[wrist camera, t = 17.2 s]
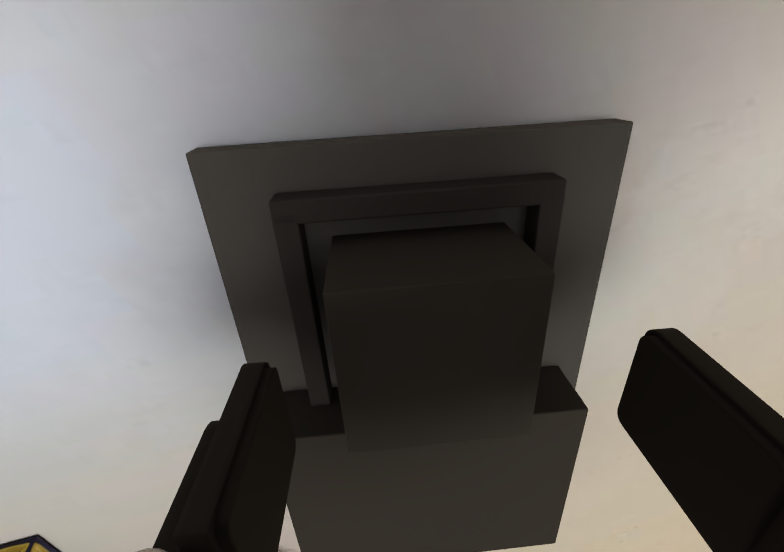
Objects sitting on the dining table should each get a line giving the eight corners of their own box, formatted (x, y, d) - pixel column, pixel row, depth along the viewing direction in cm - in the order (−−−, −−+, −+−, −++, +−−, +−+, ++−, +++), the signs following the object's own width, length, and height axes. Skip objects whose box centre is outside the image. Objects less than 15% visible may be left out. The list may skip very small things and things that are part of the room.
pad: (332, 235, 13) (322, 293, 10) (504, 221, 13) (556, 273, 10) (350, 370, 16) (348, 454, 12) (493, 356, 16) (530, 435, 13)
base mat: (197, 147, 13) (143, 171, 9) (615, 118, 13) (695, 131, 10) (299, 515, 22) (289, 588, 19) (542, 488, 22) (571, 554, 19)
